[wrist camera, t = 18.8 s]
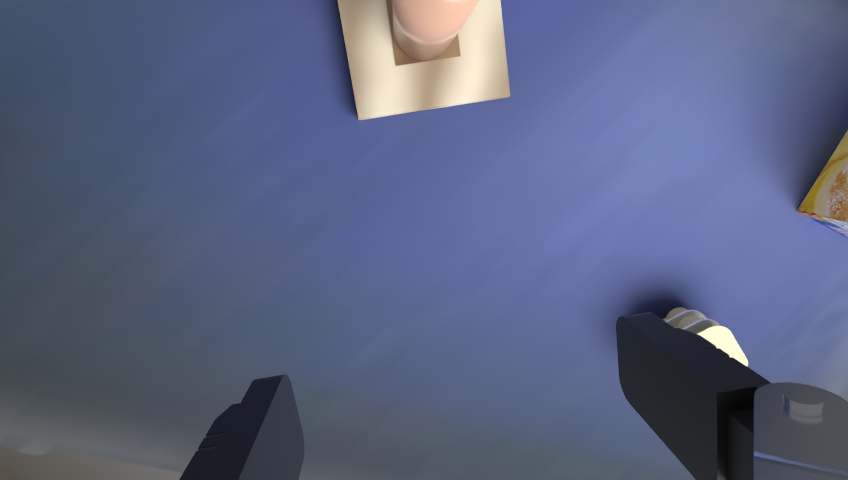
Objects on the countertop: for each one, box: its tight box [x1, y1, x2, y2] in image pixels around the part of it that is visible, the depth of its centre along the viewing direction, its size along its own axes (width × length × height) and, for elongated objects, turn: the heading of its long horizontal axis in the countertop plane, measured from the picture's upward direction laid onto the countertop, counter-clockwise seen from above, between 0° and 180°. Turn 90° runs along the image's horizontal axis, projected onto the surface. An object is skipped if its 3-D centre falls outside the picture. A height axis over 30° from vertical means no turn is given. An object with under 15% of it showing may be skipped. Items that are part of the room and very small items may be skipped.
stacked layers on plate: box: [662, 307, 748, 366], centre depth 43 cm, size 10×9×6 cm
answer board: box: [338, 0, 510, 120], centre depth 37 cm, size 12×12×2 cm
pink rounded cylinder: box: [392, 0, 479, 61], centre depth 29 cm, size 5×5×15 cm
